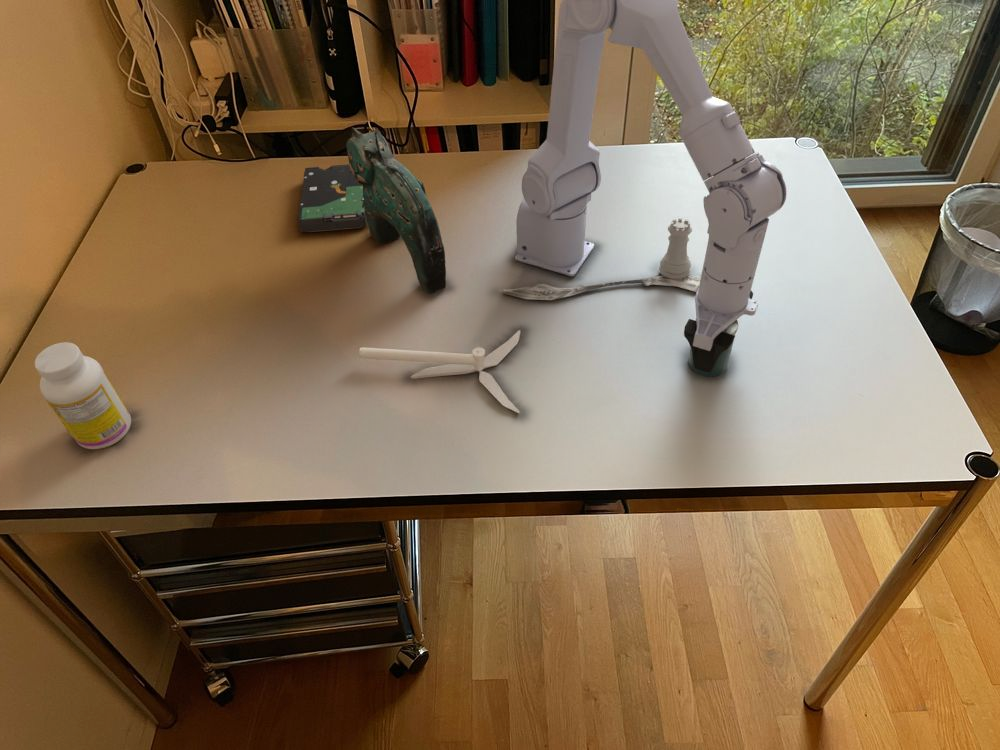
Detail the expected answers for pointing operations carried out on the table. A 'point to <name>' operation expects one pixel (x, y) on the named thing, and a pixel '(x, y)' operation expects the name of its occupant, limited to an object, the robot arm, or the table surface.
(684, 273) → the rook chess piece
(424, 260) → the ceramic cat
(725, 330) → the tin can
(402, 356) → the wind turbine
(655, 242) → the table surface
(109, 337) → the table surface
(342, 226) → the disk drive
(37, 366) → the supplement bottle
